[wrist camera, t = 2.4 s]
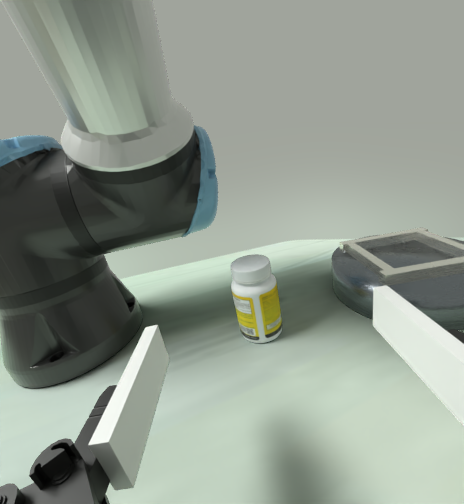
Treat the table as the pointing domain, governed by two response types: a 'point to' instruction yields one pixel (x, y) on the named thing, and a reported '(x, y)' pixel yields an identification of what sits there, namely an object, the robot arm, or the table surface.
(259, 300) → the supplement bottle
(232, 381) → the table surface
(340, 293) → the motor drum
